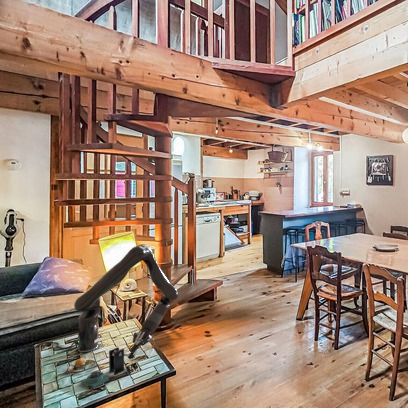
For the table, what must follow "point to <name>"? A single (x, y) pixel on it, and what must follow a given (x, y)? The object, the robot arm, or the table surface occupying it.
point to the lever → (130, 355)
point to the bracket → (116, 361)
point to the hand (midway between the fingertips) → (131, 352)
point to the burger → (80, 365)
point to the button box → (95, 380)
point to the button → (95, 374)
